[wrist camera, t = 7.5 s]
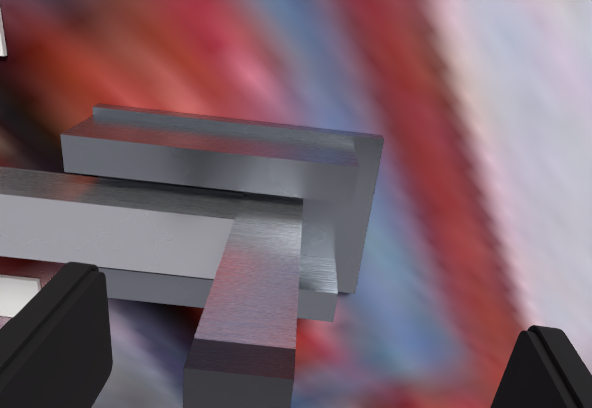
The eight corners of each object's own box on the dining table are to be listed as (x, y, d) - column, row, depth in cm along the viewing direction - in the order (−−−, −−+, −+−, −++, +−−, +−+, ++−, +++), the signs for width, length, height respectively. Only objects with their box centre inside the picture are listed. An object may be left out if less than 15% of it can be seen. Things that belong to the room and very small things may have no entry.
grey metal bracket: (382, 135, 17) (394, 161, 14) (353, 286, 19) (359, 331, 17) (98, 103, 17) (59, 124, 14) (109, 259, 19) (78, 301, 17)
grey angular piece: (309, 139, 16) (305, 297, 8) (291, 286, 18) (273, 524, 10) (-64, 97, 16) (-469, 214, 8) (-32, 251, 18) (-311, 464, 10)
